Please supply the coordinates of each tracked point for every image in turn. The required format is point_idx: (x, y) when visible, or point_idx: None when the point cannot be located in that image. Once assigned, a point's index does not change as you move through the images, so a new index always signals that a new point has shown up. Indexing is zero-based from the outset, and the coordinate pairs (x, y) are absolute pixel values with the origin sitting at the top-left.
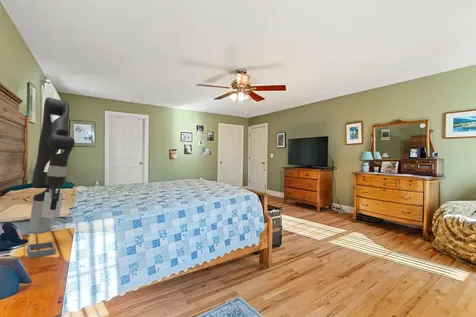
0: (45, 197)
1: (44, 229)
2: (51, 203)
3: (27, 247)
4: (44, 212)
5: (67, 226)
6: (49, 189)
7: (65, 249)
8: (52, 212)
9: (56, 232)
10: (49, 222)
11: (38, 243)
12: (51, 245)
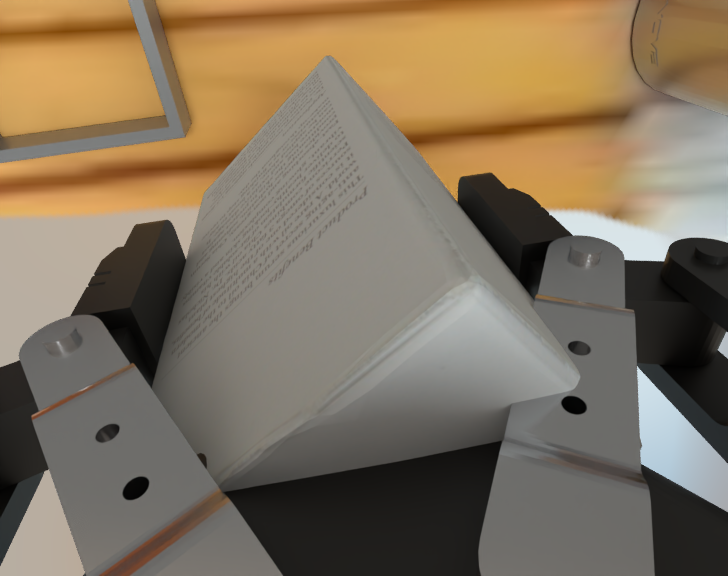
0: (370, 211)
1: (648, 55)
2: (100, 301)
3: None
4: (299, 105)
5: (692, 208)
6: (480, 568)
7: (109, 209)
8: (196, 226)
9: (575, 142)
10: (701, 101)
11: (146, 23)
12: (139, 125)
